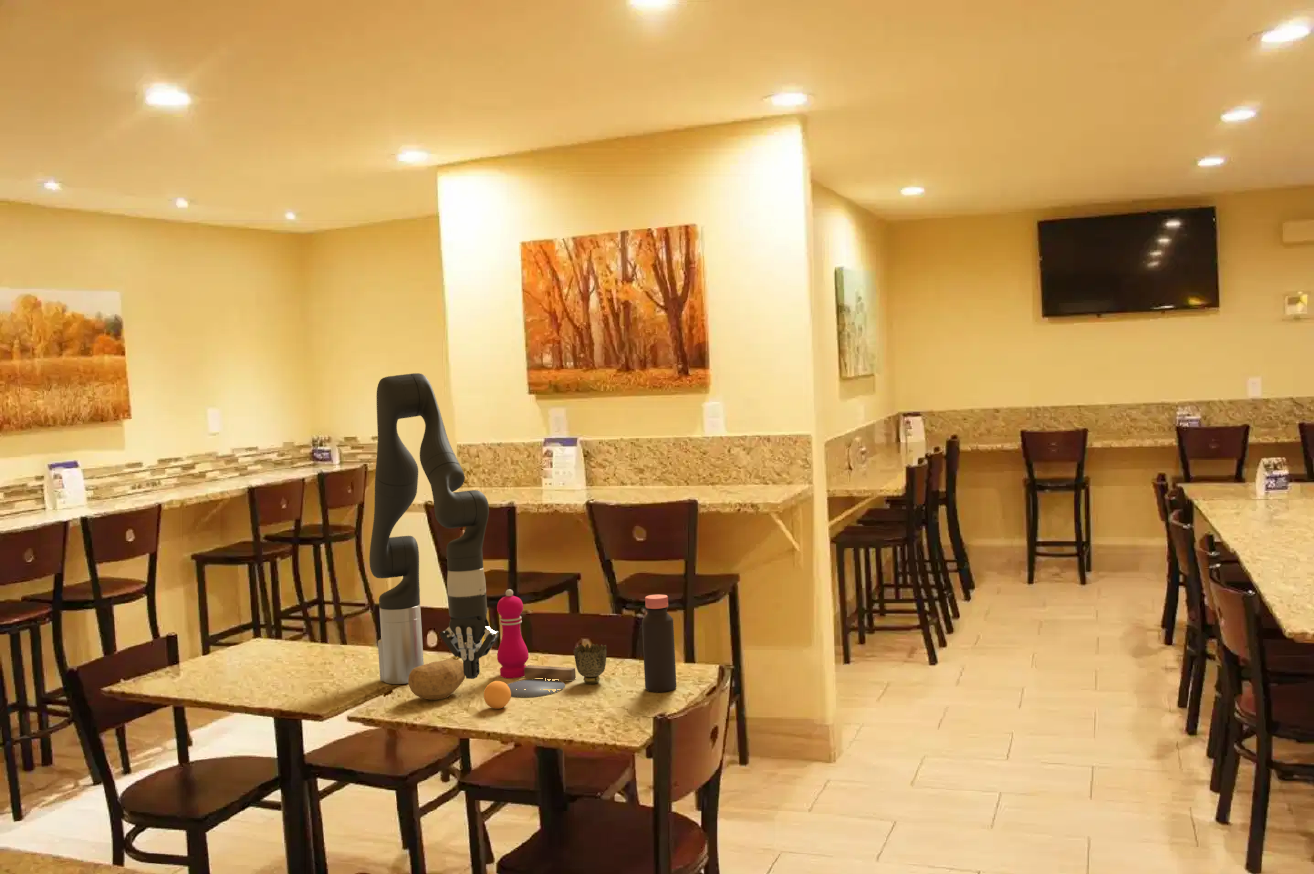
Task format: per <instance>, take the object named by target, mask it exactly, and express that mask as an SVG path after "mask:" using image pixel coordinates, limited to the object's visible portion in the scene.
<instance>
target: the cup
mask: <svg viewBox="0 0 1314 874" xmlns="http://www.w3.org/2000/svg"><path fill="white" fill-rule="evenodd" d="M607 649H608V648H607V644H605V645H603V643H602V644H601V645H599V644H598V643H596V644H594V643H592V644H591V645H589V644H588V643H587V644H586V645H585V646H584V645H583V644H579V645H578V646H575V647H574V648H572V650H573V655H574V662H575V668H576V670H577V672H578V673H579V675H580V676H582V677H583V678H582V679H583V682H584V683H585V684H587V685H595V684H598V683H599V682H600V679H601V677H600V675H602V674H603V673H604V672H605V669H606V664H607V651H608V650H607Z"/></svg>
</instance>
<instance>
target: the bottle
mask: <svg viewBox="0 0 1314 874" xmlns="http://www.w3.org/2000/svg"><path fill="white" fill-rule="evenodd" d="M644 601H645V605H644V606H645V610H646V611H647V613H646V615H645V616H644V617H643V618H642V621H641V631H642V650H643V668H644V672H643V673H644V688H645V689H646V691H647V692H650V691H651V693H667V691H668V692H672V691H674V690H675V689H676V688H677V671H676V670H677V669H676V650H675V649H676V647H675V629H674V628H675V627H674V626H675V624H674V618H673V617H672V616H671V615H670V614H669V613H668V609H669V596H668V595H667V594H658V593H657V594H649V595H646V596H645V597H644ZM671 690H672V691H671Z"/></svg>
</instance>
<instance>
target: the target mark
mask: <svg viewBox="0 0 1314 874" xmlns="http://www.w3.org/2000/svg"><path fill="white" fill-rule="evenodd" d="M506 684H507V683H506ZM507 685H508V687H509V688H510V691H511V696H512V698H537V697H538V696H539V697H543V695H545V696H548V695H547V694H550V695H552V694H551V693H553V694H555V693H554V692H553V691H552V690H550V692H549V691H548V690H543V689H556V691H555V692H556V693H558V692H557V691H559V690H557V689H562V690H563V688H564V689H565V687H566V684H565V683H564V681H560V680H559V681H558V680H555V681H552V679H551V680H550V681H548V680H547V679H546V681H545V679H533V680H532V679H529V678H527V679H522V680H518V681H514V682H511V683H508V684H507ZM516 689H517V690H516ZM524 689H526V690H524ZM540 689H541V690H540ZM559 692H560V691H559Z"/></svg>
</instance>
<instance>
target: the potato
mask: <svg viewBox="0 0 1314 874" xmlns="http://www.w3.org/2000/svg"><path fill="white" fill-rule="evenodd" d="M465 679H466V676H465V675H464V669H463V660H462V661H461V660H459V659H453V658H450V659H449V658H448V659H444V660H436V661H433V662H429V663H426V664H424V665H422V666H419V667H416V668H414V669H413V670H412V671H411V672H410V675H409V679H408V683H407V684H408V687H409V689H410V692H411V693H413V695H415V696H416V697H418V698H421V699H425V700H434V701H435V700H443V699H446V698H448V697H450V696H451V695H453V693H454V692H456V691H457V690H458V688H459V687H460V686H461V684H462V683H463V682H464V681H465Z"/></svg>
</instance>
